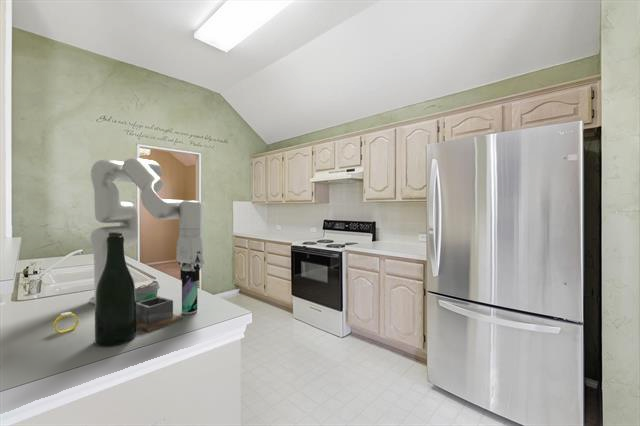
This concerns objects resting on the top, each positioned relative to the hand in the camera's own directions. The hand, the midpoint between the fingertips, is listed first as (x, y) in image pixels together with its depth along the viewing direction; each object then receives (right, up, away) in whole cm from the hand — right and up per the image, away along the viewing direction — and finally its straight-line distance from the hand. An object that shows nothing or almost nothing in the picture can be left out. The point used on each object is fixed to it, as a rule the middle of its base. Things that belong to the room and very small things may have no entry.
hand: (189, 279), depth 109 cm
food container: (-17, -13, +2) cm, 21 cm away
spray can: (0, -13, 0) cm, 13 cm away
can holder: (-9, -13, -8) cm, 18 cm away
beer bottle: (-13, -13, -22) cm, 29 cm away
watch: (-33, -13, -17) cm, 39 cm away
